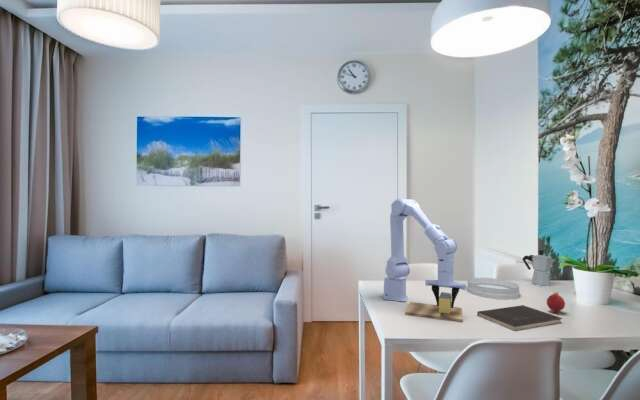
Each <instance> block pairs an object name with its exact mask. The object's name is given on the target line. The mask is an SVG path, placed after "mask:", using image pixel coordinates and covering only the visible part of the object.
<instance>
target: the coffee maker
mask: <svg viewBox="0 0 640 400" xmlns="http://www.w3.org/2000/svg"><path fill="white" fill-rule="evenodd" d="M544 252H545V251H544V250H542V249H540V250H538V254H536V255H534V254H530V255H524V256H523V257H522V262H523V263H524V264H525V266H526V268H527V270H528V271H529V270H531V269H533V274H532V278H531V283H532V284H534V285H533V286H535V285H540V286H550V285H552V284H551V279H550V273H549V271H550V269H551V266H552V265H553V263H554V262H555V261H556V259H555V258H554V259H553V258H551V257H550V256H547V255H544ZM527 260H528V261H530V262H531V263H532V268H531V266H530V265H529V263H528V262H527ZM532 284H531V285H532ZM540 286H539V287H540ZM550 287H551V286H550Z"/></svg>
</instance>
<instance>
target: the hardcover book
mask: <svg viewBox="0 0 640 400" xmlns="http://www.w3.org/2000/svg"><path fill="white" fill-rule="evenodd" d="M476 314H477V315H476V316H477V317H481V318H484V319H485V320H488V321H490V322H493V323H496V324H498V325H500V326H503V327H505V328H507V329H510V330H513V331H517V330H518V331H519V330H525V329H530V328H537V327H543V326H548V325H554V324H560V323H561V321H562V320H563V318H562V317H560V316H557V315H553V314H551V313H548V312H545V311H541V310H538V309H536V308H533V307H530V306H527V305H515V306H508V307H501V308H500V307H499V308H494V309H487V310H480V311H477V313H476ZM536 326H537V327H536Z"/></svg>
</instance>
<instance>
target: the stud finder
mask: <svg viewBox="0 0 640 400" xmlns="http://www.w3.org/2000/svg"><path fill="white" fill-rule="evenodd" d="M451 302H452V292H444V291H441V292H440V293H439V312H440V313H447V314H450V312H451Z"/></svg>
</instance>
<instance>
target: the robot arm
mask: <svg viewBox="0 0 640 400" xmlns="http://www.w3.org/2000/svg"><path fill="white" fill-rule="evenodd" d="M390 207H391V209H390V210H391V212H390V214H389V215H390V216H389V217H390V219H389V221H390V222H389V224H390V225H389V226H390V227H389V228H390V257H389V258H388V260H386V267H385V274H386V276H387V277H384V280H383V300H388V301H398V302H407V300H408V298H409V296H408V295H407V278H408V276H409V275H410V273H411V267H410V265H409V260H408V259H407V257H405V242H404V241H405V239H404V220H405V219H406V218H407V217H409V216H410V217H413V219H414V220H416V222H418V223H419V225H420V226H421V227H422V228H423V229H424V235H426V237H427V238H428V239H429V240H430V242H431V243H432V244H433V246H434V248H433V249H434V251H435V253H436V257H437V279H426V280H425V281H424V282H425V287H428V286H430V287H431V291H432V293H433V295H434V298H435V301H436V305H437V306H439V297H440V288H448V289H451V295H452V300H451V308H453V307H455V306H454V304H455V302H456V301H455V300H456V298H457V296H458V294H459V292H460V290H463V291H467V283H462V282H456V281H454V278H455V277H454V273H455V272H454V270H455V269H454V262H455V258H454V257H455V253H456V252H457V249H458V245H457V242H456V241H455V239H454V238H450V237H448V235H447V234H445V233H444V232H443V231H442V229H441V226H440V225H439V224H438V225H437V224H436V223H432V221H430V220H429V218H428V217H427V216H426V214H425V213H424V212H423V210H422V209H421V207H420V204H419V203H418V202H417V201H416V200H415V199H413V198H409V199H408V198H407V199H406V198H403V199H402V198H397V199H395V200H394V201H392V203H391V204H390Z"/></svg>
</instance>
